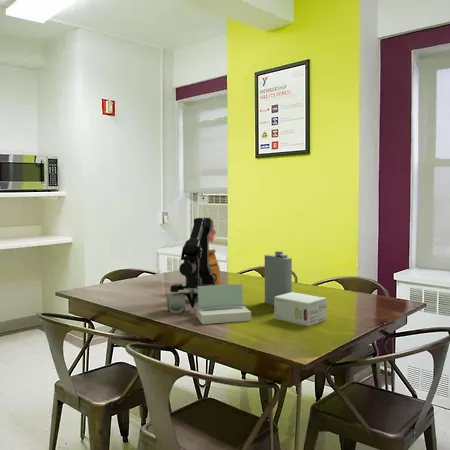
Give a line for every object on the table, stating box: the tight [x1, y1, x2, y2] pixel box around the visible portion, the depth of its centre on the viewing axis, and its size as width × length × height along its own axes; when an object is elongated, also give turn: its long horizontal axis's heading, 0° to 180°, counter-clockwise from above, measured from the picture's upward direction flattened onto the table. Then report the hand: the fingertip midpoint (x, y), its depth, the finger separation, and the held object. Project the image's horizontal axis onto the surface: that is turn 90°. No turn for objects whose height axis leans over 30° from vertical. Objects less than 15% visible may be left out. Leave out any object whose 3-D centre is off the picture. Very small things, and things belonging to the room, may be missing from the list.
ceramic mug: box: [166, 292, 187, 315], centre depth 203 cm, size 11×8×8 cm
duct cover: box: [197, 283, 244, 309], centre depth 195 cm, size 19×9×1 cm
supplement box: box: [273, 291, 328, 327], centre depth 189 cm, size 17×13×9 cm
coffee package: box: [198, 248, 221, 285], centre depth 246 cm, size 10×12×22 cm
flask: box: [264, 250, 293, 306], centre depth 212 cm, size 17×5×25 cm, turn 31°
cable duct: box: [194, 303, 252, 325], centre depth 191 cm, size 21×12×4 cm, turn 104°
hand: (192, 307), depth 204 cm, fingers closed
